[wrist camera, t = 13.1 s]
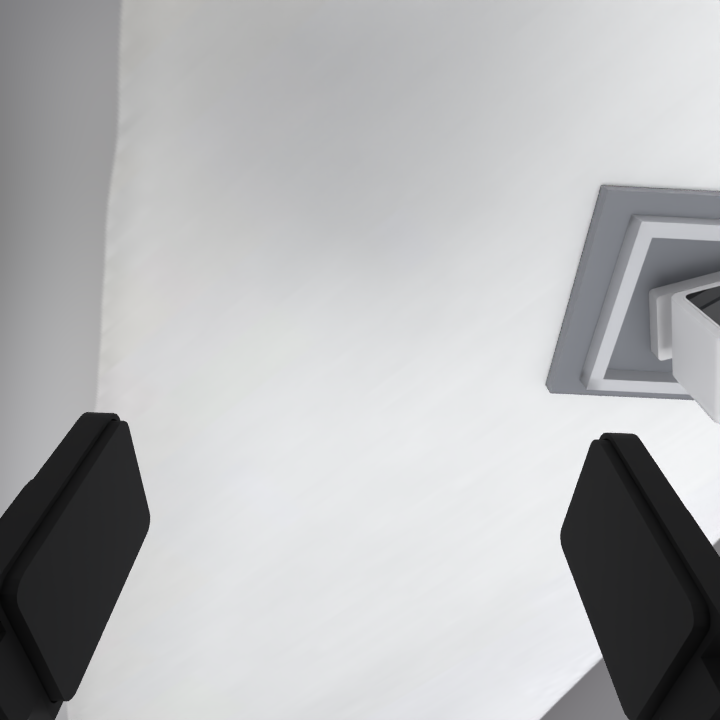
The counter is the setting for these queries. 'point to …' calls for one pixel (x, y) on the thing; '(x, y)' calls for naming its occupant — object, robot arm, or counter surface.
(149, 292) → the counter surface
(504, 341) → the counter surface
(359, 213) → the counter surface
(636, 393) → the mounting plate
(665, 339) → the security camera
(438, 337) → the counter surface
